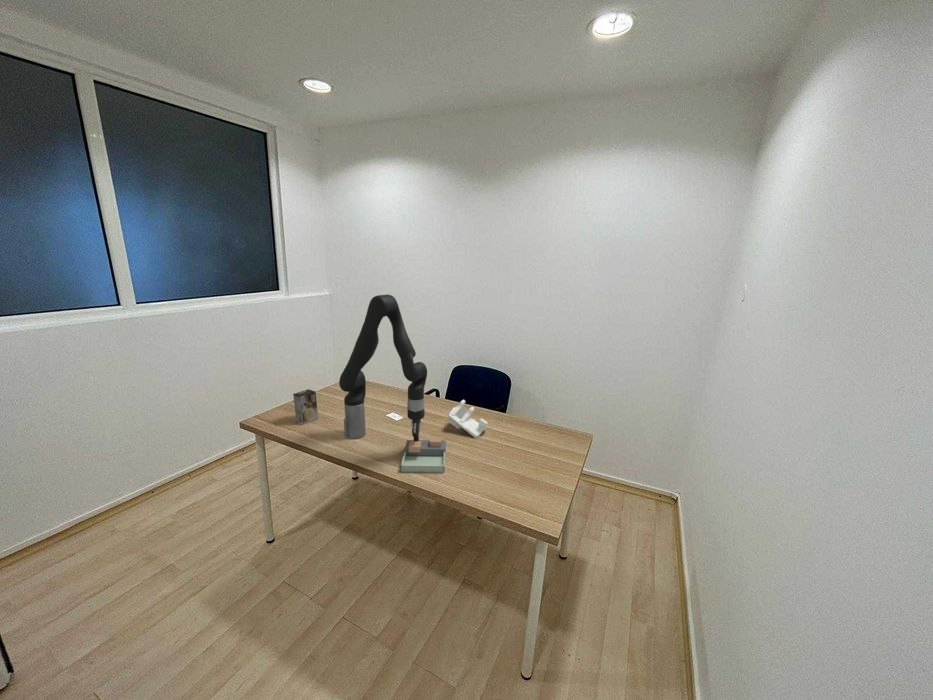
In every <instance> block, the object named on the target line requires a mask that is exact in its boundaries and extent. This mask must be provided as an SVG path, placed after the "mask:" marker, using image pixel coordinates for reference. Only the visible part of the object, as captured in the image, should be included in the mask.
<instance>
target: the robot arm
mask: <svg viewBox="0 0 933 700" xmlns="http://www.w3.org/2000/svg"><path fill="white" fill-rule="evenodd" d="M397 301H398V300H397V299H396V297H395V296H394V295H391V294H380V295H379V294H378V295H375V296H373V297H372V298H371V299H370V301H369V304H368V306H367V311H366V315H365V317H364V321H363V324H362V327H361V330H360V332H359V335H358V337H357V339H356V341H355V344H354V347H353V349H352V352H351V354H350V357H349V359H348V361H347V364H346V365H345V368H343V371H342V373H341V374H340V377H339V380H338V382H339V383H338V384H339V388H340V390H341V391H342V392H346V393H347V394H346V395H345V397H344V399H343V402H344V419H343V426H344V427H343V428H344V438H348V439H351V440H356V439H360V438H363V437H364V436H366V434H367V433H366V432H367V430H366V413H365V399H366V390H367V388H366V386H367V383H366V376H365V374H364V372H363V371H362V369H363V368H364V367H365V366H366V364H368V362H369V361H370V360H371V359H372V357H373V356H374V355H375V352H376V350H377V348H378V346H379V342H380V339H379V332H378V330H379V326H380V324H381V321H382V320H383V318H384V317H387V318H388V320H389V322H390V324H391V328H392V341H393V345H394V348H395V350H396V352H397V354H398V357H399V358H400V363H401V364H400V365H401V367H402V369H401V370H402V373H403V375H404V377H405V379H406V380H407V381H409V382H411V383H410V384H409V385H408V386H407V401H406V403H407V405H406V407H407V408H406V409H407V418H408V419H409V420H411V421H410V424H411V434H412V437H413V440H414V441H419V440H420V432H421V423H422V422H421V421H422V419H424V418H425V415H426V414H425V413H426V412H425V411H426V410H425V386H426V383H427V377H428V368H427V366H426V364H425V363H424V362H423V361H417V362H414V358H415V356H416V355H417V354H416V353H417V352H416V350H415V348H414V346H413V344H412V342H411V339H410V337H409V335H408V333H407V330H406V327H405V324H404V320H403V316H402V313H401V310H400V307H399V304H398V302H397Z"/></svg>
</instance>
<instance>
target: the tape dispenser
mask: <svg viewBox="0 0 933 700" xmlns="http://www.w3.org/2000/svg"><path fill="white" fill-rule="evenodd" d="M465 403H466V400H465V399H462V400H461V401H460V402H459V404H458V405H457V406H454V407H453V408H452V409H451V410H450V412H449V413H448V419H447V422H449V423H450V424H451V425H453V426H454V427H455V428H456V429H458V430H461V429H463V430H464V431H466V432H467V433H468V434H469V435H471V436H472V437H473V438H475V439H476V438H479V436H480V435H481V434H482V433H483V432H484V431H485V430H486V428H487V426H488V425H489V422H488V421H486V420H485V419H483V418H479V419H478V420H479V422H478V421H477V420H476V419H474V418H471V417H470V416H471V414H472V413H473V412H474V410H475V409H476V408H475V407H474V406H471V407H469V409H467V408H466V407H465V406H464V405H465Z"/></svg>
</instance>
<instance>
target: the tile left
mask: <svg viewBox="0 0 933 700" xmlns="http://www.w3.org/2000/svg"><path fill="white" fill-rule="evenodd" d="M420 451H421V441H410V443H409V452H420Z"/></svg>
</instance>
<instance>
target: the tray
mask: <svg viewBox="0 0 933 700" xmlns="http://www.w3.org/2000/svg"><path fill="white" fill-rule="evenodd" d="M445 469H446V452H444V457H428V456H406V451H405V450H404V453H403V457H402V460H401V464H400V472H401V473H439V474H440V473H442V474H443V473H445Z"/></svg>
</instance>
